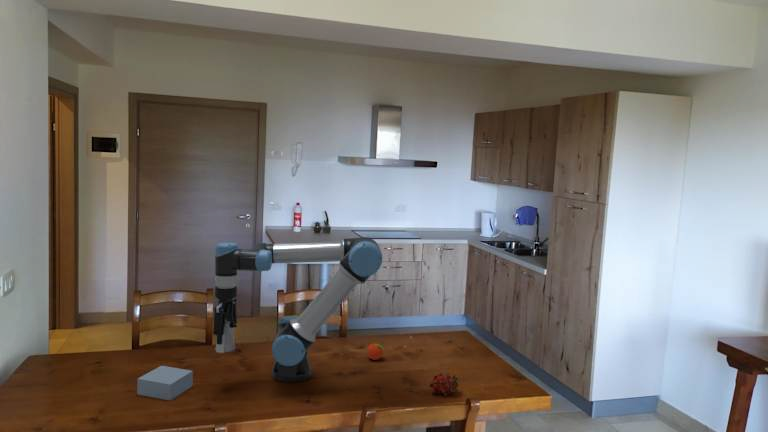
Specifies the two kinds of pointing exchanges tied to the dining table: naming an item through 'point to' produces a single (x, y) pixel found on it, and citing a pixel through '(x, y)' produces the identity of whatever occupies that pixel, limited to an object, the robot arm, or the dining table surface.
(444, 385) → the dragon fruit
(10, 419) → the dining table surface
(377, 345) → the clementine
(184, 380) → the grey block
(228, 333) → the flask
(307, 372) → the robot arm
